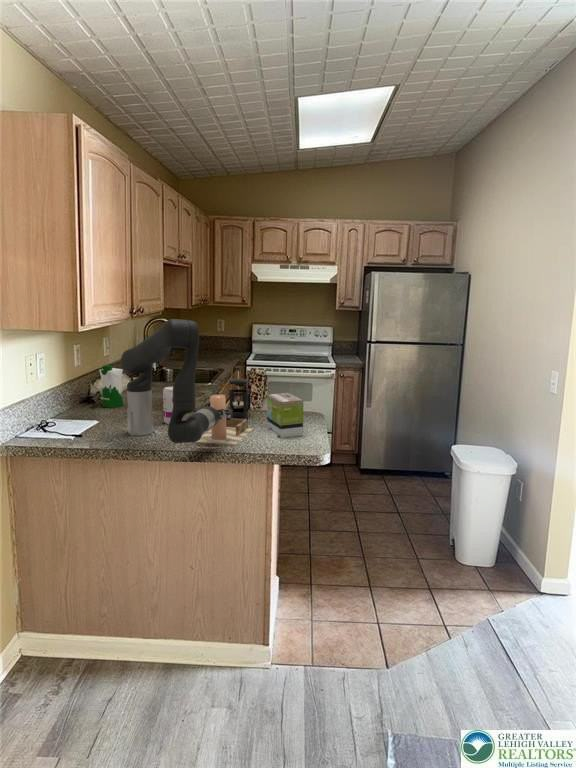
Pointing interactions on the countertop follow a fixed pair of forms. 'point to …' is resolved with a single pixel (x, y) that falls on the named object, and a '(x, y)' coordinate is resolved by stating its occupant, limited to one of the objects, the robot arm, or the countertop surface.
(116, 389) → the milk carton
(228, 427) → the dock
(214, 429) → the dome-topped peach cylinder
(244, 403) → the french press
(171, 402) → the supplement can
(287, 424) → the tea box
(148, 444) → the countertop surface
